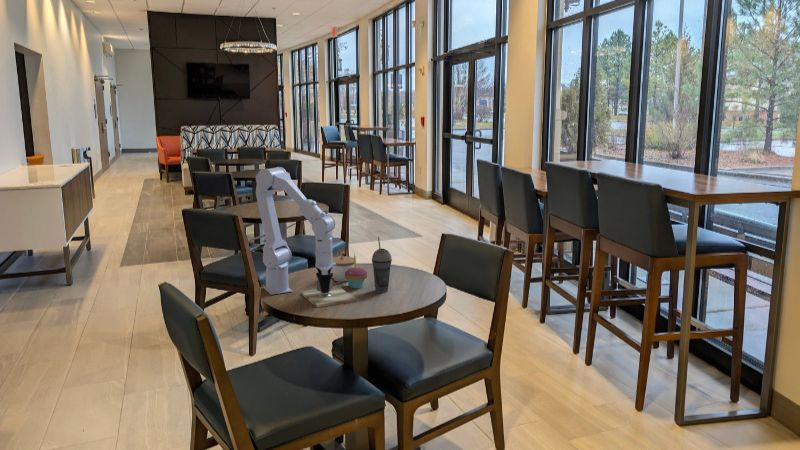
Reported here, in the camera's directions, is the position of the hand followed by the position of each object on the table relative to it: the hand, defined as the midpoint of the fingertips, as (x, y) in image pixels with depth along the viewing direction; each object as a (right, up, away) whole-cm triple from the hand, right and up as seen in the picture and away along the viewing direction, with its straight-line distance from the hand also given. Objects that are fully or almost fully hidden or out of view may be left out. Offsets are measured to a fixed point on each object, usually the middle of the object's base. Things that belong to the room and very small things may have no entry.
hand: (324, 289), depth 203 cm
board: (+1, -3, +1) cm, 3 cm away
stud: (0, -3, +1) cm, 3 cm away
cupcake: (+10, -1, +14) cm, 17 cm away
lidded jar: (+4, +1, +23) cm, 23 cm away
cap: (0, 0, 0) cm, 0 cm away
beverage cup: (+19, -2, +9) cm, 21 cm away
